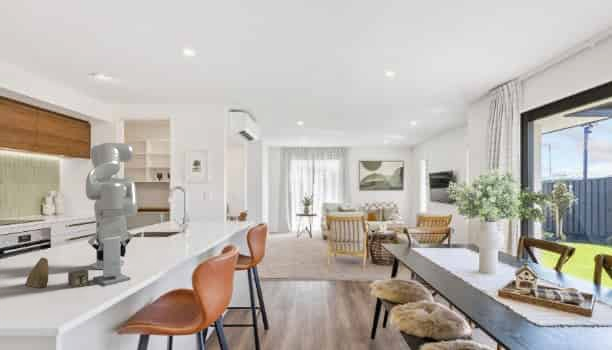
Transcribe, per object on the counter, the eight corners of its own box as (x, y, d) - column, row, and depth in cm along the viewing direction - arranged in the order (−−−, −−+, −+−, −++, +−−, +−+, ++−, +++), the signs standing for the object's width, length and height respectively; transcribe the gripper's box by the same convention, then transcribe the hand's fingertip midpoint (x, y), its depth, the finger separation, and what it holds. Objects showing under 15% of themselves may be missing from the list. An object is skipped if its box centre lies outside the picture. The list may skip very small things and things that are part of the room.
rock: (55, 280, 119) (60, 270, 128) (37, 264, 116) (43, 255, 125) (26, 301, 116) (33, 289, 124) (6, 285, 113) (15, 274, 121)
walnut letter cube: (68, 285, 121) (68, 271, 121) (83, 281, 125) (83, 268, 125) (73, 288, 118) (73, 274, 118) (88, 284, 122) (88, 271, 122)
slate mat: (92, 280, 127) (92, 277, 127) (117, 274, 134) (117, 272, 134) (105, 285, 119) (105, 283, 119) (130, 279, 127) (130, 277, 127)
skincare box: (121, 275, 125) (121, 237, 125) (102, 278, 122) (103, 238, 122) (119, 270, 132) (119, 234, 132) (102, 272, 129) (102, 235, 129)
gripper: (90, 216, 118) (90, 264, 118) (138, 212, 132) (138, 255, 132) (82, 215, 122) (82, 261, 122) (130, 211, 136) (130, 252, 136)
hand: (111, 257), depth 127 cm, fingers closed on skincare box, 7 cm apart
